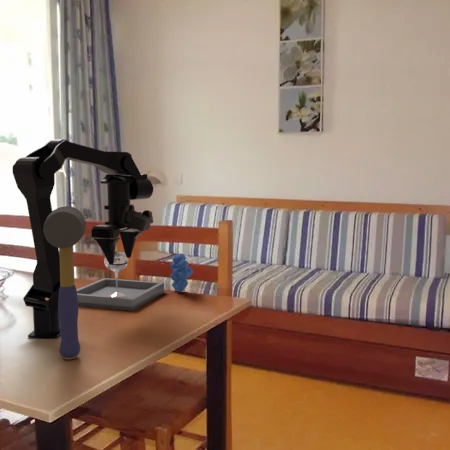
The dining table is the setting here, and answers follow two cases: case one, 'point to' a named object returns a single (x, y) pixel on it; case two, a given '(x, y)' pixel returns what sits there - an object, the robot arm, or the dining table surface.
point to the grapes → (180, 272)
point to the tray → (133, 289)
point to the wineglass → (117, 269)
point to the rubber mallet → (66, 272)
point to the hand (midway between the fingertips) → (120, 260)
